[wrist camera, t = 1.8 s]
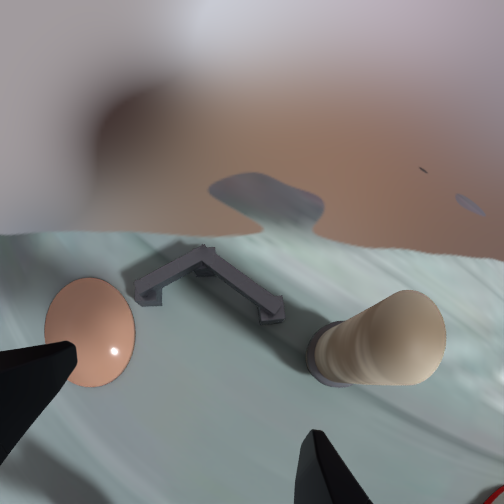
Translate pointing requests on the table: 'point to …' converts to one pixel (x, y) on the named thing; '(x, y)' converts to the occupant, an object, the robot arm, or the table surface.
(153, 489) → the table surface
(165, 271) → the grey angled bracket
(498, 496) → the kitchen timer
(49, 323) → the terracotta coaster
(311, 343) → the birch ring post
